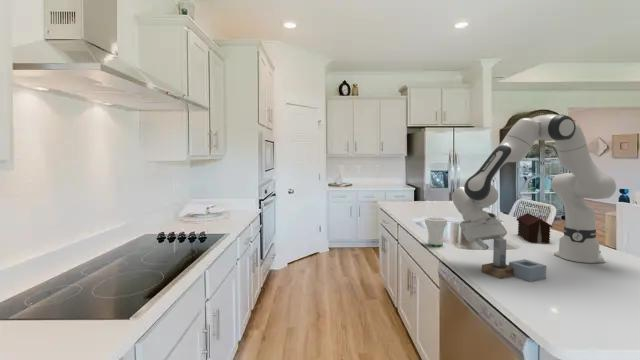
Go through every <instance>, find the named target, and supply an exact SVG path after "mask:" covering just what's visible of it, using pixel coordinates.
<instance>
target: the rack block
mask: <svg viewBox="0 0 640 360" xmlns="http://www.w3.org/2000/svg"><path fill="white" fill-rule="evenodd" d="M508 265H509V267H511V268H514V276H513V277H516V278H519V279H521V280H524V281H527V282H534V281H539V280H544V279H547V265H546V264H543V263H539V262H536V261H531V260H528V259H519V260H514V261H513V260H512V261H509V262H508Z"/></svg>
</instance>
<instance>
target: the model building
mask: <svg viewBox="0 0 640 360" xmlns="http://www.w3.org/2000/svg"><path fill="white" fill-rule="evenodd" d="M516 221H517V223H518V224H517V230H518V231H517V236H519V237H520V236H521V238H522V239H523V238H524V239H523V240H525V241H526V242H527V243H529V242H531V243H533V244H550V243H551V239H550V238H551V228H553V225H551V224H550V223H548V222H546V221H544V219H541V215H539V217H537V216H535V215H533V214H531V213H528V212H526V213H525V214H522V215H521V216H518V217H517V218H516Z"/></svg>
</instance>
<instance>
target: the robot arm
mask: <svg viewBox="0 0 640 360" xmlns="http://www.w3.org/2000/svg"><path fill="white" fill-rule="evenodd" d="M536 140H540V141H554V144H555V150H556V152H557V156H558V159H559V163H560V165H561V167H563V168H564V169H566V170H567V171H569V172H565V173H558V174H556V175H554V176H553V177H552V179H551V183H550V187H551V190H552V192H553V193H555V194H556V195H557V196H558V198H559V199H560V200H561V201H560V202H561V203H562V205H563V208H564V216H565V217H564V218H565V219H564V221H565V222H564V224H565V225H564V227H563V236H561V237H559V243H558V251H555V252H554V254H553V255H554V256H557V257H560V258H562V259H563V260H567V261H571V262H578V263H587V264H593V263H594V264H595V263H596V264H597V263H604V264H605V263H606V260H605V258H604V257H603V254H602V253H601V250H600V243H599V241H598V240H597V239H596V238H597V229H596V217H597V216H596V214H597V213H596V211H595V210H594V209H593V208H592V207H590V206H589V205H588V204H587V203H586V200H585V199H591V200H602V199H603V200H605V199H610V198H611V197H613V195H615V192H616V190H617V183H616V182H615V179H614V178H613V177H611V176H610V175H608V174H606V173H605V172H603V171H602V170H601V169H600V168H599V167H598V166H597V165H596V164H595V163H594V161H593V160H592V157H591V155H590V151H589V148H588V143H587V140H586V137H585V134H584V131H583V130H582V128H581V125H580V124H579V123H577V122H576V121H575V120H574V119H573V118H572V117H571V116H569V115H566V114H553V113H550V114H549V113H547V114H542V115H539V114H538V115H533V116H530V117H523V118H520V119H519V120H517V121H516V122H515V123H514V124H513V126H512V127H511V128H510V129H509V131H508V132H507V133H506V134H505V136H504V138H503V139H502V141H501V142H500V143H499V145H498V146H497V147H496V148H495V149H494V150H493V151H492V153H490V155H489V156H488V158H486V160H485V161H484V162H483V164H482V165H481V167H480V168H479V169H478V170H477V171H475V173H474V174H473V175H471V176H470V177H468V179H466V181H465V183H464V186H459V187H456V189H454V191H453V192H452V194H451V200H452V203H453V205H454V207H455V208H456V210H457V212H459V214H460V215H461V216H462V219H463V220H462V221H460V222H459V227H460V229H461V232H462V234H463V236H464V238H465V239H466V241H467V242H469V243H473V242H475V244H477V245H478V246H479V247H481V248H482V250H484V251H486V250H488V249H489V248H490V247H489V245H488V243H485V242H484V241H489V240H494V239H497V238H501V239H504V237H505V236H506V235H507V234H508V232H507V231H508V230H507V229H506V228H505V226H504V224H502V222H501V221H500V220H499V219H498V216H497V215H496V214H495V213H491V212H487V211H486V210H484V209H485V208H487V207H490V206H492V205H494V204H495V203H496V202H497V201H498V199H499V192H498V190H497V189H496V187H495V186H493V184H492V181H493V179H494V177H495V176H496V175H497V173H499V170H500V169H501V168H502V167H503V166H504V165H505V164H506V163H517V162H520V161H522V160H523V159H524V158H525V157H526V156H527V154H528V153H529V152H530V150H531V149H532V147H533V146H534V144H535V142H536Z"/></svg>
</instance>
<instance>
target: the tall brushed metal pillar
mask: <svg viewBox="0 0 640 360" xmlns="http://www.w3.org/2000/svg"><path fill="white" fill-rule="evenodd" d="M492 257H493V260H492V263H493V266H494V267H497V268H500V269H501V268H506V265H507V264H506V263H507V239H505V238H503V239H501V238H497V239H493V255H492Z"/></svg>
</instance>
